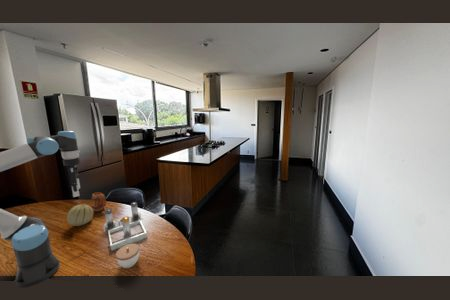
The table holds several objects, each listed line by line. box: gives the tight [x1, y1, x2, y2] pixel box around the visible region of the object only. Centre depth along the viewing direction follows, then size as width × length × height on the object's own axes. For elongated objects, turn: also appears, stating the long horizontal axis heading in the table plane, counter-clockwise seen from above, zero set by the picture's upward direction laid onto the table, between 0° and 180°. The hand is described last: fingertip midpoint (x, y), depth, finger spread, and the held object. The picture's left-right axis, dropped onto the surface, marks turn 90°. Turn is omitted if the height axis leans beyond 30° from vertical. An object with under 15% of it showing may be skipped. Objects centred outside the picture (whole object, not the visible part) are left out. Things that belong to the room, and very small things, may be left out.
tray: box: [107, 220, 148, 252], centre depth 117 cm, size 18×20×4 cm
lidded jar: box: [115, 243, 140, 269], centre depth 95 cm, size 11×11×9 cm
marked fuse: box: [121, 216, 132, 237], centre depth 116 cm, size 4×4×12 cm
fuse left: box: [104, 208, 114, 228], centre depth 124 cm, size 4×4×12 cm
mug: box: [90, 192, 107, 212], centre depth 148 cm, size 15×8×15 cm, turn 62°
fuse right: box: [130, 201, 139, 220], centre depth 134 cm, size 4×4×12 cm
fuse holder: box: [102, 212, 144, 233], centre depth 130 cm, size 10×24×4 cm, turn 127°
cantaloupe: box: [66, 203, 94, 227], centre depth 129 cm, size 15×15×15 cm
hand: (77, 192), depth 108 cm, fingers open, 13 cm apart
